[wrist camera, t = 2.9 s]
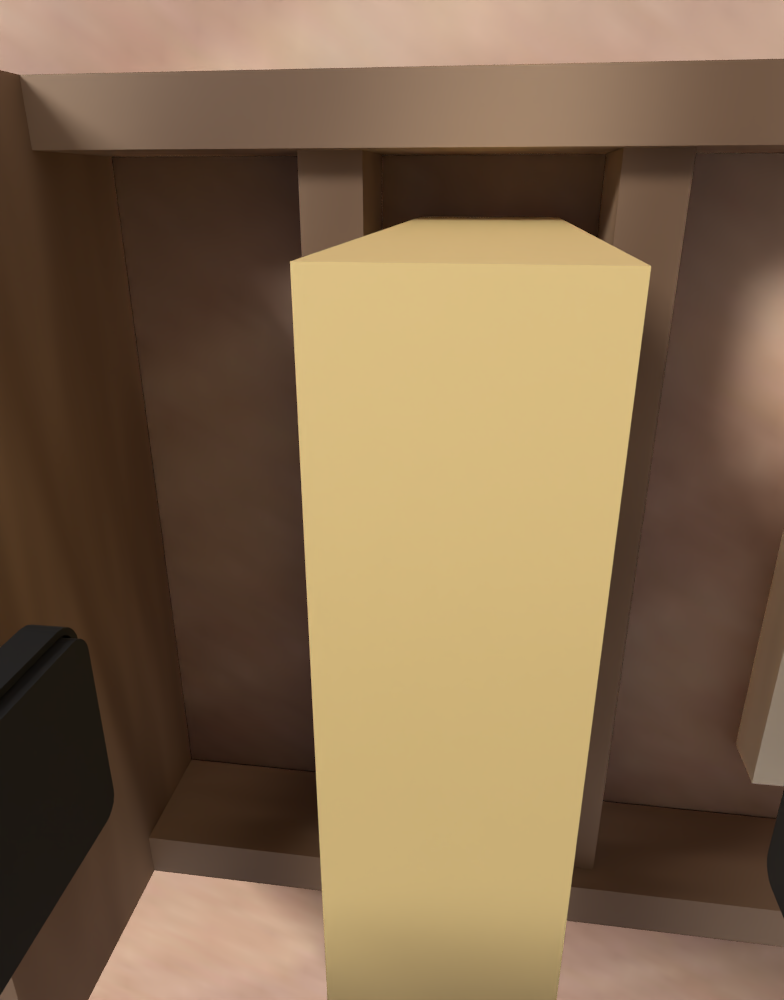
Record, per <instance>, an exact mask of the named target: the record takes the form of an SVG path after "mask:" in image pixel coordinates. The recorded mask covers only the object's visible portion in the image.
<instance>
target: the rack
mask: <svg viewBox="0 0 784 1000" xmlns="http://www.w3.org/2000/svg"><path fill="white" fill-rule="evenodd" d="M696 153H784V59H754V60H706V61H658V62H611V63H563V64H515V65H467V66H420V67H372V68H324V69H276V70H229V71H181V72H133V73H86V74H38V75H18V74H13V73H9V72H5V71H1V70H0V647H1V646H2V645H3V644H5V643H6V642H7V641H8V640H9V639H10V638H11V637H12V636H13V635H14V634H15V633H17V632H18V631H19V630H20V629H21V628H23V627H24V626H26V625H45V626H59V627H69V628H71V629H73V630H74V632H75V633H76V634H77V637H78V639H83V640H84V641H85V642H86V643H87V646H88V649H89V654H90V660H91V665H92V671H93V676H94V682H95V688H96V693H97V699H98V704H99V710H100V715H101V721H102V727H103V732H104V738H105V743H106V749H107V755H108V760H109V766H110V771H111V777H112V782H113V788H114V803H113V808H112V811H111V814H110V817H109V819H108V821H107V822H106V824H105V826H104V827H103V829H102V831H101V832H100V834H99V836H98V837H97V839H96V840H95V842H94V844H93V845H92V847H91V849H90V850H89V852H88V853H87V855H86V857H85V858H84V860H83V862H82V863H81V865H80V866H79V868H78V870H77V871H76V873H75V875H74V876H73V878H72V879H71V881H70V883H69V884H68V886H67V888H66V889H65V891H64V892H63V894H62V896H61V897H60V899H59V901H58V902H57V904H56V906H55V907H54V909H53V910H52V912H51V914H50V915H49V917H48V919H47V920H46V922H45V923H44V925H43V927H42V928H41V930H40V932H39V933H38V935H37V936H36V938H35V940H34V941H33V943H32V945H31V946H30V948H29V949H28V951H27V953H26V954H25V956H24V958H23V959H22V961H21V962H20V964H19V966H18V967H17V969H16V971H15V972H14V974H13V975H12V977H11V979H10V980H9V982H8V984H7V985H6V987H5V989H4V990H3V992H2V993H1V995H0V1000H88V999H89V997H90V995H91V993H92V991H93V989H94V987H95V985H96V983H97V981H98V979H99V977H100V975H101V973H102V971H103V970H104V968H105V966H106V964H107V962H108V960H109V958H110V956H111V954H112V952H113V950H114V948H115V946H116V944H117V942H118V940H119V938H120V936H121V934H122V932H123V930H124V929H125V927H126V925H127V923H128V921H129V919H130V917H131V915H132V913H133V911H134V909H135V907H136V905H137V903H138V901H139V899H140V897H141V895H142V893H143V891H144V889H145V888H146V886H147V884H148V882H149V880H150V878H151V876H152V874H153V872H154V870H157V871H165V872H173V873H181V874H189V875H198V876H206V877H214V878H222V879H230V880H239V881H247V882H255V883H263V884H271V885H280V886H288V887H296V888H304V889H312V890H321V891H322V882H321V863H320V843H319V823H318V804H317V784H316V772H308V771H298V770H288V769H279V768H269V767H259V766H249V765H239V764H229V763H219V762H210V761H200V760H191V752H190V745H189V737H188V729H187V722H186V714H185V707H184V699H183V692H182V684H181V677H180V669H179V662H178V654H177V647H176V639H175V632H174V624H173V617H172V609H171V601H170V594H169V586H168V579H167V571H166V564H165V556H164V549H163V541H162V534H161V526H160V519H159V511H158V504H157V496H156V488H155V481H154V473H153V466H152V458H151V451H150V443H149V436H148V428H147V421H146V413H145V406H144V398H143V391H142V383H141V376H140V368H139V360H138V353H137V345H136V338H135V330H134V323H133V315H132V308H131V300H130V293H129V285H128V278H127V270H126V263H125V255H124V247H123V240H122V232H121V225H120V217H119V210H118V202H117V195H116V187H115V180H114V172H113V165H112V157H147V156H297V162H298V184H299V206H300V229H301V251H302V257H305V256H307V255H310V254H313V253H316V252H319V251H322V250H325V249H328V248H331V247H334V246H337V245H340V244H343V243H346V242H349V241H351V240H354V239H357V238H360V237H363V236H366V235H369V234H372V233H375V232H378V231H381V230H382V155H490V154H606V160H605V170H604V179H603V189H602V199H601V209H600V219H599V229H598V238H599V239H601V240H603V241H604V242H606V243H608V244H610V245H612V246H614V247H616V248H618V249H620V250H622V251H623V252H625V253H627V254H629V255H631V256H633V257H635V258H637V259H639V260H641V261H643V262H644V263H646V264H648V265H650V266H651V272H650V280H649V288H648V296H647V303H646V311H645V319H644V326H643V334H642V342H641V350H640V357H639V365H638V373H637V381H636V388H635V396H634V404H633V411H632V419H631V427H630V435H629V442H628V450H627V458H626V465H625V473H624V481H623V489H622V496H621V504H620V512H619V520H618V527H617V535H616V543H615V550H614V558H613V566H612V574H611V581H610V589H609V597H608V604H607V612H606V620H605V628H604V635H603V643H602V651H601V659H600V666H599V674H598V682H597V689H596V697H595V705H594V713H593V720H592V728H591V736H590V743H589V751H588V759H587V767H586V774H585V782H584V790H583V798H582V805H581V813H580V821H579V828H578V836H577V844H576V852H575V859H574V867H573V875H572V882H571V890H570V898H569V906H568V913H567V921H575V922H583V923H591V924H599V925H608V926H616V927H624V928H632V929H640V930H649V931H657V932H665V933H673V934H681V935H690V936H698V937H706V938H714V939H722V940H731V941H739V942H747V943H755V944H763V945H772V946H780V947H784V918H783V915H782V913H781V911H780V908H779V906H778V903H777V901H776V898H775V896H774V893H773V891H772V888H771V885H770V882H769V878H768V872H767V855H768V850H769V846H770V842H771V838H772V834H773V830H774V827H775V823H776V819H771V818H761V817H751V816H742V815H732V814H722V813H712V812H702V811H692V810H682V809H673V808H663V807H653V806H643V805H633V804H623V803H613V802H604V801H603V796H604V789H605V782H606V775H607V768H608V761H609V754H610V747H611V740H612V734H613V727H614V720H615V713H616V706H617V699H618V692H619V685H620V678H621V671H622V664H623V657H624V650H625V643H626V636H627V629H628V622H629V615H630V608H631V601H632V594H633V587H634V580H635V573H636V566H637V559H638V552H639V545H640V538H641V531H642V524H643V518H644V511H645V504H646V497H647V490H648V483H649V476H650V469H651V462H652V455H653V448H654V441H655V434H656V427H657V420H658V413H659V406H660V399H661V392H662V385H663V378H664V371H665V364H666V357H667V350H668V343H669V336H670V329H671V322H672V315H673V308H674V302H675V295H676V288H677V281H678V274H679V267H680V260H681V253H682V246H683V239H684V232H685V225H686V218H687V211H688V204H689V197H690V190H691V183H692V176H693V169H694V162H695V155H696Z"/></svg>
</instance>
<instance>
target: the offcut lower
mask: <svg viewBox="0 0 784 1000" xmlns="http://www.w3.org/2000/svg"><path fill="white" fill-rule="evenodd" d="M736 747H737V749H738V751H739V754H740V756H741V758H742V761H743V763H744V766H745V768H746V770H747V773H748V775H749V778H750V780H751V782H752V783H753V784H764V785H774V786H784V530H783V534H782V539H781V543H780V548H779V552H778V557H777V561H776V565H775V570H774V574H773V579H772V583H771V588H770V592H769V597H768V601H767V606H766V610H765V615H764V619H763V624H762V628H761V633H760V637H759V641H758V646H757V650H756V655H755V659H754V664H753V668H752V673H751V677H750V682H749V686H748V691H747V695H746V700H745V704H744V709H743V713H742V718H741V722H740V726H739V731H738V735H737V740H736Z"/></svg>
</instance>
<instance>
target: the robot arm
mask: <svg viewBox="0 0 784 1000" xmlns="http://www.w3.org/2000/svg"><path fill="white" fill-rule="evenodd" d="M113 803H114V788H113V782H112V777H111V771H110V766H109V760H108V755H107V749H106V743H105V738H104V732H103V727H102V721H101V715H100V710H99V704H98V699H97V693H96V688H95V682H94V676H93V671H92V665H91V660H90V654H89V649H88V646H87V643H86V642H85V641H84V640H83V639H78V637H77V634H76V633H75V632H74V630H73V629H71V628H69V627H59V626H45V625H26V626H24V627H23V628H21V629H20V630H19V631H18V632H17V633H15V634H14V635H13V636H12V637H11V638H10V639H9V640H8V641H7V642H6V643H5V644H3V645H2V646H1V647H0V995H1V993H2V992H3V990H4V989H5V987H6V985H7V984H8V982H9V980H10V979H11V977H12V975H13V974H14V972H15V971H16V969H17V967H18V966H19V964H20V962H21V961H22V959H23V958H24V956H25V954H26V953H27V951H28V949H29V948H30V946H31V945H32V943H33V941H34V940H35V938H36V936H37V935H38V933H39V932H40V930H41V928H42V927H43V925H44V923H45V922H46V920H47V919H48V917H49V915H50V914H51V912H52V910H53V909H54V907H55V906H56V904H57V902H58V901H59V899H60V897H61V896H62V894H63V892H64V891H65V889H66V888H67V886H68V884H69V883H70V881H71V879H72V878H73V876H74V875H75V873H76V871H77V870H78V868H79V866H80V865H81V863H82V862H83V860H84V858H85V857H86V855H87V853H88V852H89V850H90V849H91V847H92V845H93V844H94V842H95V840H96V839H97V837H98V836H99V834H100V832H101V831H102V829H103V827H104V826H105V824H106V822H107V821H108V819H109V817H110V814H111V811H112V808H113ZM767 872H768V878H769V882H770V885H771V888H772V891H773V893H774V896H775V898H776V901H777V903H778V906H779V908H780V911H781V913H782V915H783V918H784V791H783V795H782V799H781V803H780V807H779V811H778V815H777V819H776V823H775V827H774V830H773V834H772V838H771V842H770V846H769V850H768V855H767Z"/></svg>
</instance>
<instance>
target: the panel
mask: <svg viewBox="0 0 784 1000" xmlns="http://www.w3.org/2000/svg"><path fill="white" fill-rule="evenodd" d="M650 272H651V266H650V265H648V264H646V263H644V262H643V261H641V260H639V259H637V258H635V257H633V256H631V255H629V254H627V253H625V252H623V251H622V250H620V249H618V248H616V247H614V246H612V245H610V244H608V243H606V242H604V241H603V240H601V239H599V238H597V237H595V236H593V235H591V234H589V233H587V232H585V231H583V230H582V229H580V228H578V227H576V226H574V225H572V224H570V223H568V222H566V221H564V220H562V219H561V218H559V217H419V218H416V219H413V220H410V221H407V222H404V223H401V224H398V225H395V226H393V227H390V228H387V229H384V230H381V231H378V232H375V233H372V234H369V235H366V236H363V237H360V238H357V239H354V240H351V241H349V242H346V243H343V244H340V245H337V246H334V247H331V248H328V249H325V250H322V251H319V252H316V253H313V254H310V255H307V256H305V257H302V258H299V259H296V260H293V261H290V274H291V293H292V313H293V332H294V352H295V372H296V391H297V411H298V431H299V450H300V470H301V490H302V509H303V529H304V548H305V568H306V588H307V607H308V627H309V647H310V666H311V686H312V705H313V725H314V745H315V764H316V784H317V804H318V823H319V843H320V863H321V882H322V902H323V921H324V941H325V961H326V980H327V1000H556V998H557V991H558V983H559V975H560V967H561V960H562V952H563V944H564V937H565V929H566V921H567V913H568V906H569V898H570V890H571V882H572V875H573V867H574V859H575V852H576V844H577V836H578V828H579V821H580V813H581V805H582V798H583V790H584V782H585V774H586V767H587V759H588V751H589V743H590V736H591V728H592V720H593V713H594V705H595V697H596V689H597V682H598V674H599V666H600V659H601V651H602V643H603V635H604V628H605V620H606V612H607V604H608V597H609V589H610V581H611V574H612V566H613V558H614V550H615V543H616V535H617V527H618V520H619V512H620V504H621V496H622V489H623V481H624V473H625V465H626V458H627V450H628V442H629V435H630V427H631V419H632V411H633V404H634V396H635V388H636V381H637V373H638V365H639V357H640V350H641V342H642V334H643V326H644V319H645V311H646V303H647V296H648V288H649V280H650Z"/></svg>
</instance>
